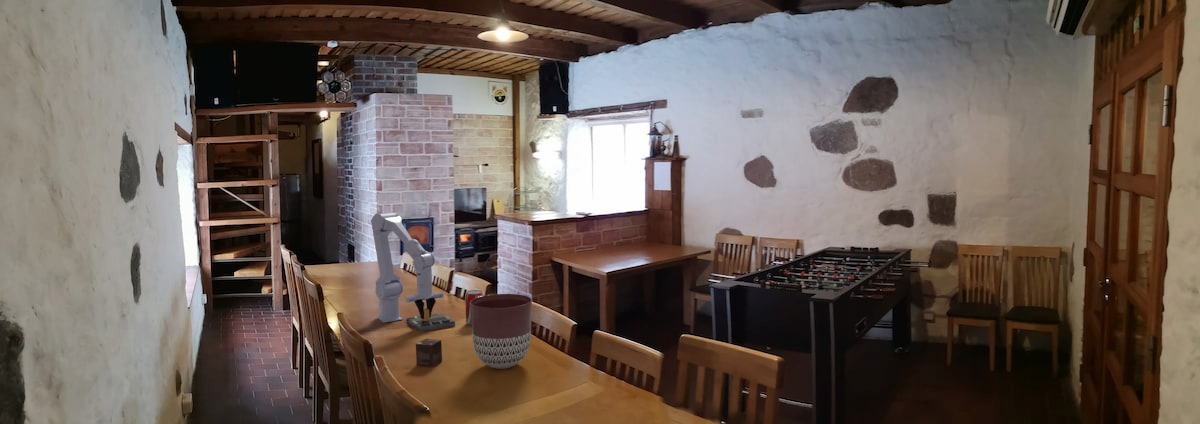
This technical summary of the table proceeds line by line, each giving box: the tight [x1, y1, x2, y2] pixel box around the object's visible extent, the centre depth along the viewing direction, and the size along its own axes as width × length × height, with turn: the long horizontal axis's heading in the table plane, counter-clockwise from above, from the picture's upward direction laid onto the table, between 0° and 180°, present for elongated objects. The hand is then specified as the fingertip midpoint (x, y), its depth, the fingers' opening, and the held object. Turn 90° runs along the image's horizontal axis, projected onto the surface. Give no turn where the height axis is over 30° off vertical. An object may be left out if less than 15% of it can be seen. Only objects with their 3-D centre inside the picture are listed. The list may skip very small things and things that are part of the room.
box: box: [415, 338, 443, 368], centre depth 205 cm, size 6×6×7 cm
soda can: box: [464, 289, 484, 326], centre depth 252 cm, size 7×7×13 cm
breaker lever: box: [422, 307, 429, 321], centre depth 249 cm, size 3×2×4 cm, turn 34°
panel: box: [407, 313, 456, 333], centre depth 251 cm, size 14×14×3 cm
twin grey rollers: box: [406, 313, 438, 323], centre depth 258 cm, size 4×13×2 cm, turn 124°
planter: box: [470, 293, 533, 370], centre depth 202 cm, size 20×20×21 cm
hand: (425, 317), depth 249 cm, fingers closed on breaker lever, 2 cm apart
